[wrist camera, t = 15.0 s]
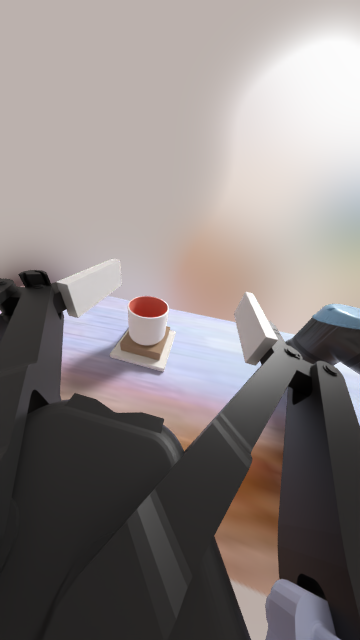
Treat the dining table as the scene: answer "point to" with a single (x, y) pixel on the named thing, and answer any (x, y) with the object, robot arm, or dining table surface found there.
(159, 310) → the cup
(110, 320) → the dining table surface
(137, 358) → the plinth
